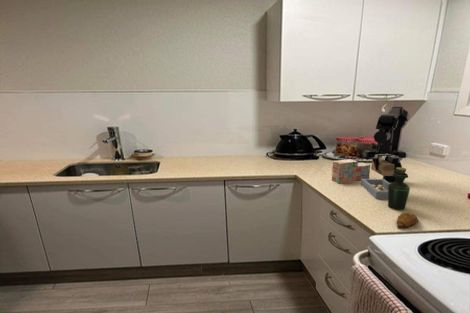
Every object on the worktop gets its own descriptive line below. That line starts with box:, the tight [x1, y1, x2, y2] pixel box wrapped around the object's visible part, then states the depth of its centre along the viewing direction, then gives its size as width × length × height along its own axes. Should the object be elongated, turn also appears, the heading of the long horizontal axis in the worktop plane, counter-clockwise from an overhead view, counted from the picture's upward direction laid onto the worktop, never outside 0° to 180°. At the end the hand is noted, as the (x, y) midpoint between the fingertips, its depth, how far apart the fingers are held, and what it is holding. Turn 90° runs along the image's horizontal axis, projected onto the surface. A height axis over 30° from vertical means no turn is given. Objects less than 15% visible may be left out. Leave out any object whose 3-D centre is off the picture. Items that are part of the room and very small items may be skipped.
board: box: [370, 158, 395, 177], centre depth 131 cm, size 12×5×6 cm, turn 178°
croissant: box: [396, 212, 419, 230], centre depth 100 cm, size 14×7×5 cm, turn 125°
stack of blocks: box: [331, 159, 371, 184], centre depth 152 cm, size 21×6×12 cm, turn 106°
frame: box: [360, 178, 390, 200], centre depth 134 cm, size 12×21×4 cm, turn 173°
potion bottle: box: [387, 167, 411, 211], centre depth 113 cm, size 8×8×18 cm
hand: (382, 170), depth 132 cm, fingers closed on board, 5 cm apart
